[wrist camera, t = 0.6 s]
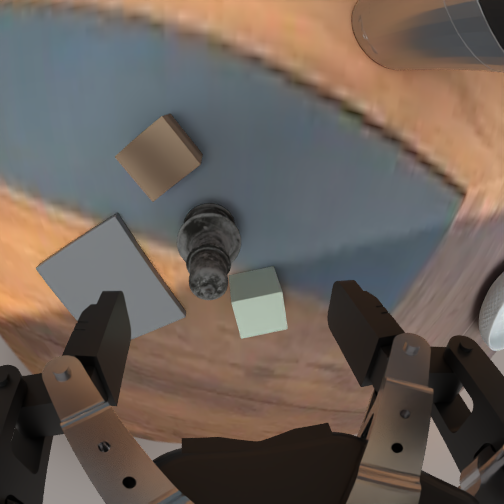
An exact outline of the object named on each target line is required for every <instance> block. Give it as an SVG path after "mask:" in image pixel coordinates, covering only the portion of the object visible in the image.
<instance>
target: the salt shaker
mask: <svg viewBox="0 0 504 504" xmlns="http://www.w3.org/2000/svg"><path fill="white" fill-rule="evenodd" d="M177 247H178V251H179V253H180V255H181V257H182V258H183V259H184V261H185V262H186V266H187V270H188V272H189V273H190V276H189V286H190V289H191V291H192V292H193V294H194V295H196V296H197V297H199V298H201V299H204V300H214V299H217V298H219V297H221V296H222V295H223V294H224V293H225V291H226V290H227V286H228V277H227V274H228V273H229V271H230V268H231V263H232V262H233V261H234V260H235V259H236V257H237V255H238V253H239V251H240V247H241V236H240V233H239V230H238V229H237V227H236V226H235V222H234V219H233V217H232V215H231V214H230V212H229V211H228V210H227V209H225V208H224V207H222V206H220V205H217V204H212V203H208V204H202V205H199V206H197V207H195V208H193V209H192V210H191V211H190V212H189V213H188V214H187V216H186V218H185V220H184V224H183V225H182V227H181V229H180V231H179V233H178V238H177Z"/></svg>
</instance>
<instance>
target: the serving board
mask: <svg viewBox="0 0 504 504" xmlns="http://www.w3.org/2000/svg"><path fill="white" fill-rule="evenodd" d="M36 270H37V271H38V272H39V274H40V275H41V276H42V278H43V279H44V280H45V282H46V283H47V284H48V286H49V287H50V288H51V289H52V291H53V292H54V293H55V295H56V296H57V297H58V298H59V299H60V301H61V302H62V303H63V304H64V306H65V307H66V308H67V309H68V310H69V312H70V313H71V314H72V315H73V316H74V317H75V319H76V320H77V321H78V319H79V317H80V315H81V313H82V312H83V311H84V310H85V309H86V308H87V307H88V306H89V305H90V304H97V302H98V300H99V297H100V295H101V293H102V292H103V291H122V292H123V294H124V297H125V302H126V307H127V311H128V316H129V320H130V325H131V339H134V338H136V337H139V336H141V335H143V334H146V333H148V332H151V331H153V330H156V329H158V328H160V327H163V326H165V325H168V324H170V323H172V322H175V321H177V320H180V319H182V318H184V317H186V311H185V310H184V308H183V307H182V306H181V304H180V303H179V302H178V300H177V299H176V298H175V296H174V295H173V293H172V292H171V291H170V289H169V288H168V287H167V285H166V284H165V282H164V281H163V280H162V278H161V277H160V275H159V274H158V272H157V271H156V270H155V268H154V267H153V265H152V264H151V262H150V261H149V259H148V258H147V257H146V255H145V254H144V252H143V251H142V249H141V248H140V246H139V245H138V243H137V242H136V240H135V239H134V237H133V236H132V234H131V233H130V231H129V230H128V228H127V226H126V225H125V223H124V222H123V220H122V219H121V217H120V216H119V214H118V213H117V214H115V215H113V216H112V217H110V218H108V219H107V220H105V221H103V222H102V223H100V224H99V225H97V226H95V227H94V228H92V229H91V230H89V231H88V232H86V233H85V234H83V235H81V236H80V237H78V238H77V239H75V240H74V241H72V242H71V243H69V244H68V245H66V246H65V247H63V248H62V249H60V250H59V251H58V252H56V253H55V254H53V255H52V256H50V257H49V258H47V259H46V260H45V261H43V262H42V263H40V264H39V265H38V266H37V268H36Z"/></svg>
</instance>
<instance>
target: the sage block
mask: <svg viewBox="0 0 504 504" xmlns="http://www.w3.org/2000/svg"><path fill="white" fill-rule="evenodd" d="M229 283H230V293H231V302H232V306H233V310H234V314H235V317H236V321H237V325H238V328H239V332H240V336H241V339H242V338H247V337H252V336H257V335H261V334H266V333H271V332H276V331H280V330H285V329H287V322H286V314H285V307H284V300H283V293H282V289H281V286H280V284H279V281H278V278H277V275H276V272H275V269H274V266H272V267H267V268H262V269H257V270H252V271H248V272H243V273H238V274H233V275H229Z"/></svg>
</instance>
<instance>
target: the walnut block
mask: <svg viewBox="0 0 504 504" xmlns="http://www.w3.org/2000/svg"><path fill="white" fill-rule="evenodd" d="M202 155H203V154H202V153H201V152H200V150H199V149H198V148H197V146H196V145H195V144H194V143H193V141H192V140H191V139H190V138H189V136H188V135H187V134H186V133H185V131H184V130H183V129H182V127H181V126H180V125H179V124H178V122H177V121H176V120H175V119H174V117H173V116H172V115H171V114H168V115H164V116H162V117H160V118H159V119H158V120H157V121H155V122H154V123H153V124H152V125H150V126H149V127H148V128H147V129H146V130H145V131H143V132H142V133H141V134H140V135H139V136H137V137H136V138H135V139H134V140H133V141H132V142H131V143H129V144H128V145H127V146H126V147H125V148H124V149H123V150H122V151H121V152H119V153H118V154H117V155H116V156H115V158H116V159H117V160H118V161H119V163H120V164H121V165H122V166H123V167H124V169H125V170H126V171H127V172H128V173H129V174H130V176H131V177H132V178H133V179H134V180H135V182H136V183H137V184H138V185H139V186H140V187H141V189H142V190H143V191H144V192H145V193H146V195H147V196H148V197H149V198H150V199H151V200H152V201H153V202H154V201H155V200H156V199H157V198H158V197H160V196H161V195H162V194H163V193H165V192H166V191H167V190H168V189H170V188H171V187H172V186H173V185H175V184H176V183H177V182H179V181H180V180H181V179H182V178H184V177H185V176H186V175H188V174H189V173H190V172H191V171H193V170H194V169H195V168H197V167H198V166H199V165H201V160H202Z"/></svg>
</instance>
